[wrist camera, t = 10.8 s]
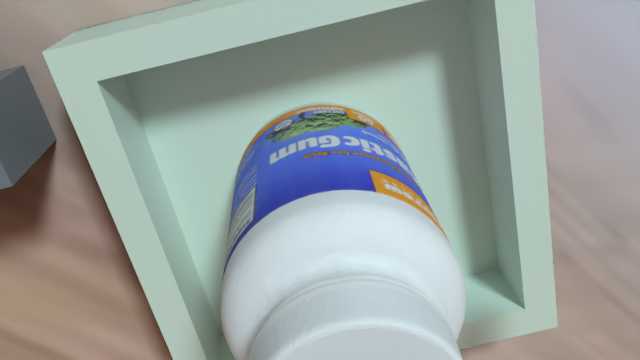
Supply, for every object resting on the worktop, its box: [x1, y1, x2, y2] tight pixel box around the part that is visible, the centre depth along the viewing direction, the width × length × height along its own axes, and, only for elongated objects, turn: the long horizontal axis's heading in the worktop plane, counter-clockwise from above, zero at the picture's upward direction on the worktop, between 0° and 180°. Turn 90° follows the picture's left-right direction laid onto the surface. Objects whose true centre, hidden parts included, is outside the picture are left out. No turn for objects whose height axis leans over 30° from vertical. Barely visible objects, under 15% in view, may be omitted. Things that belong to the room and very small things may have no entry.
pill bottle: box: [221, 102, 466, 360], centre depth 15 cm, size 5×5×10 cm
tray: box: [42, 0, 558, 360], centre depth 18 cm, size 12×12×3 cm
